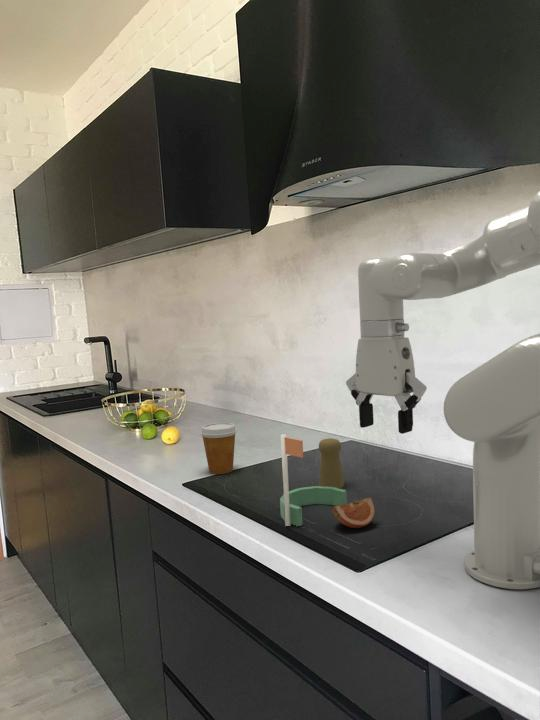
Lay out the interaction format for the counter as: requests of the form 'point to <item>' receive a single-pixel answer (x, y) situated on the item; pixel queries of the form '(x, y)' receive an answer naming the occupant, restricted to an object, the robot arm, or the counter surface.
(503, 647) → the counter surface
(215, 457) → the disposable coffee cup
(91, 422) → the counter surface
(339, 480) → the cork
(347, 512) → the fruit slice
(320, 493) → the green segmented arc
